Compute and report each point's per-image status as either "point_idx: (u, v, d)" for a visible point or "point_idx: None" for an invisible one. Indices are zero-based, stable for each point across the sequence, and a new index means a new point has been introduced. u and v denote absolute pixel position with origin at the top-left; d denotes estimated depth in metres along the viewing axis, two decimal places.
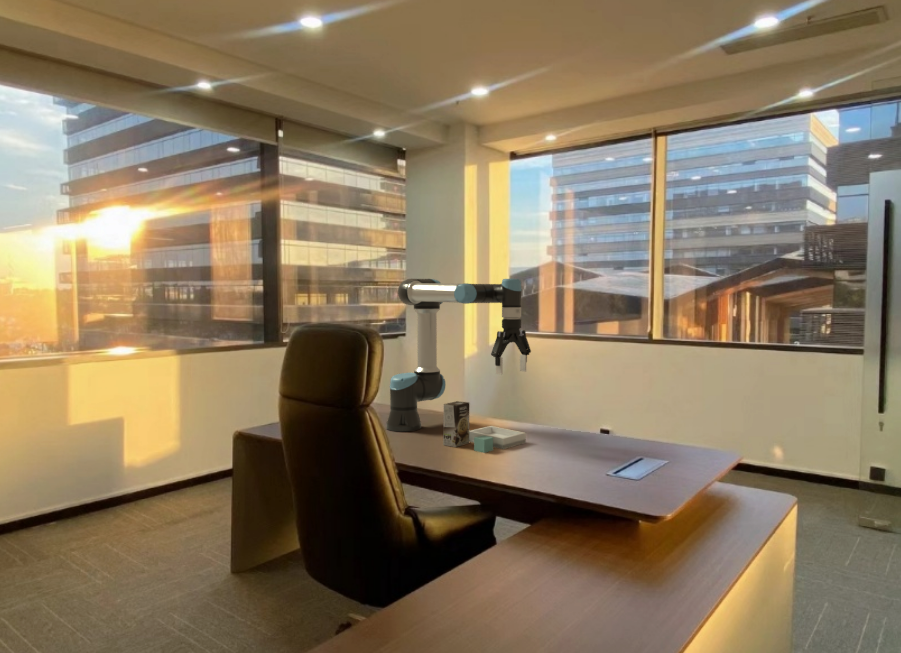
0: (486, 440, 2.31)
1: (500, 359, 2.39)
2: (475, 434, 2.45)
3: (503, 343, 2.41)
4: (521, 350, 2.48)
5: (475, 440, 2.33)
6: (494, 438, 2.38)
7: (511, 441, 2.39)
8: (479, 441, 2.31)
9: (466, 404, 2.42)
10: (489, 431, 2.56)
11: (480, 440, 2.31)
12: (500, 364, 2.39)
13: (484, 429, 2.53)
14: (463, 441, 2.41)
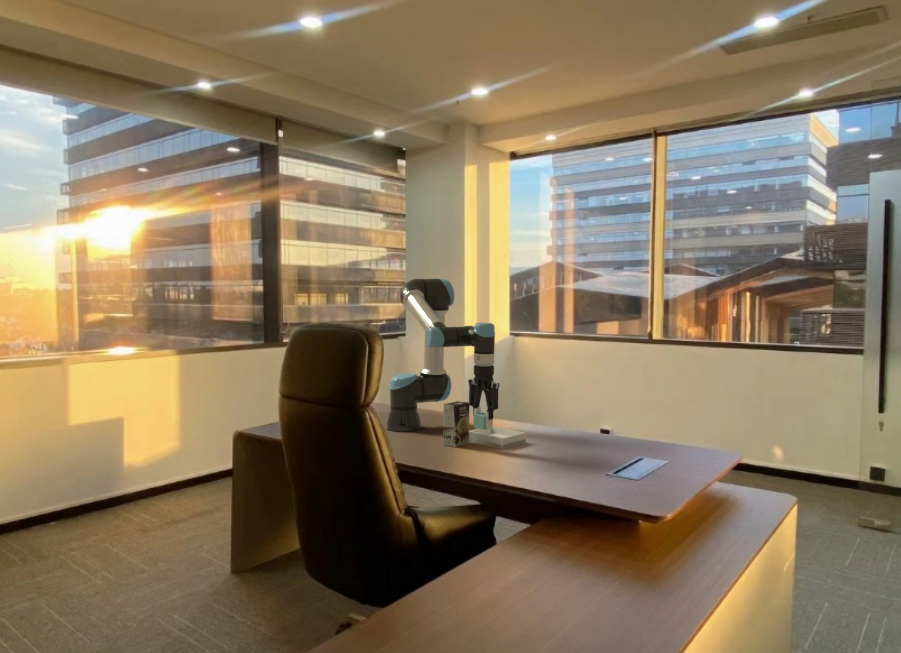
0: None
1: None
2: (475, 434, 2.45)
3: None
4: None
5: (475, 417, 2.33)
6: (494, 438, 2.38)
7: (511, 441, 2.39)
8: (479, 418, 2.31)
9: (466, 404, 2.42)
10: (489, 431, 2.56)
11: (480, 417, 2.31)
12: None
13: None
14: (463, 441, 2.41)
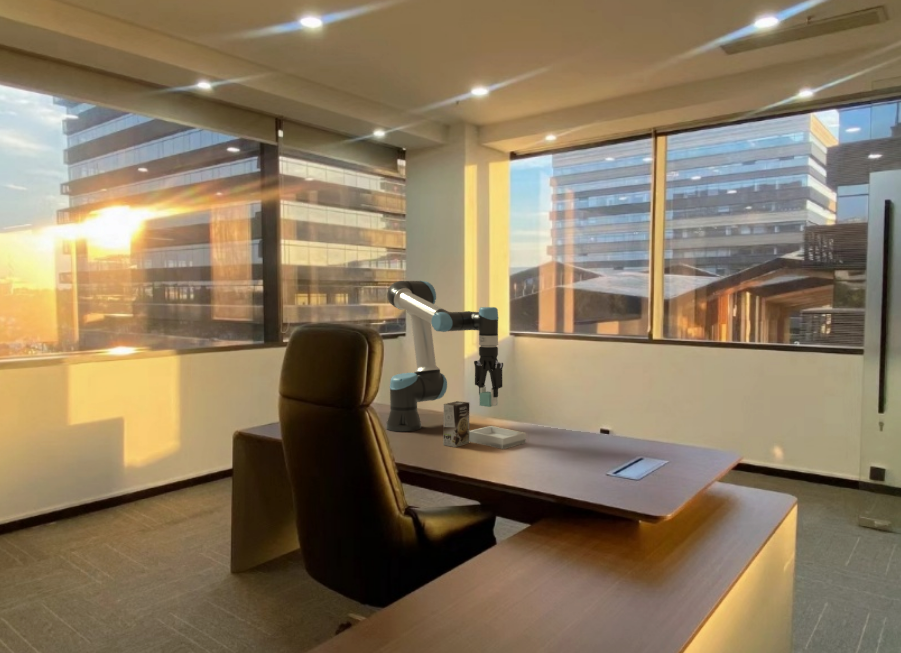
0: None
1: None
2: (475, 434, 2.45)
3: None
4: None
5: (480, 395, 2.48)
6: (494, 438, 2.38)
7: (511, 441, 2.39)
8: (484, 396, 2.47)
9: (466, 404, 2.42)
10: (489, 431, 2.56)
11: (485, 395, 2.46)
12: None
13: (484, 429, 2.53)
14: (463, 441, 2.41)
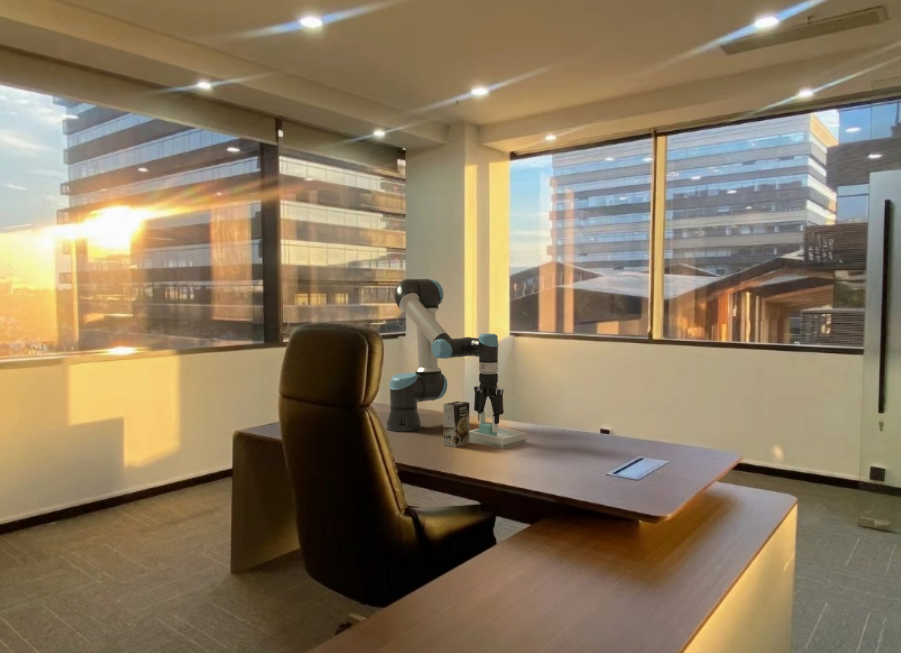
0: (490, 426, 2.47)
1: None
2: (475, 434, 2.45)
3: None
4: None
5: (480, 426, 2.49)
6: (494, 438, 2.38)
7: (511, 441, 2.39)
8: (484, 427, 2.48)
9: (466, 404, 2.42)
10: None
11: (485, 426, 2.47)
12: None
13: None
14: (463, 441, 2.41)
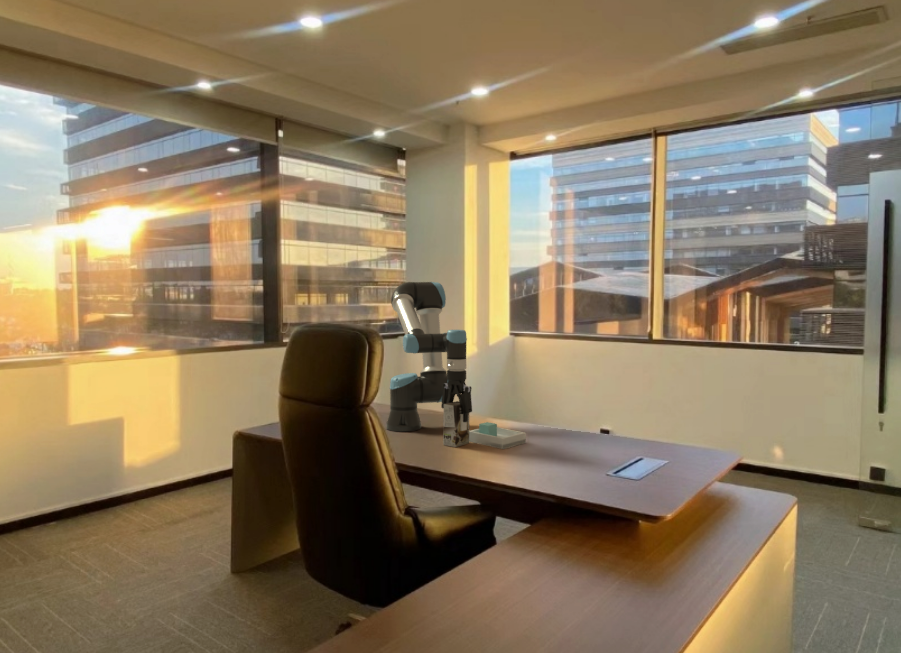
0: (490, 426, 2.47)
1: None
2: (475, 434, 2.45)
3: None
4: None
5: (480, 426, 2.49)
6: (494, 438, 2.38)
7: (511, 441, 2.39)
8: (484, 427, 2.48)
9: None
10: None
11: (485, 426, 2.47)
12: None
13: None
14: (463, 441, 2.41)
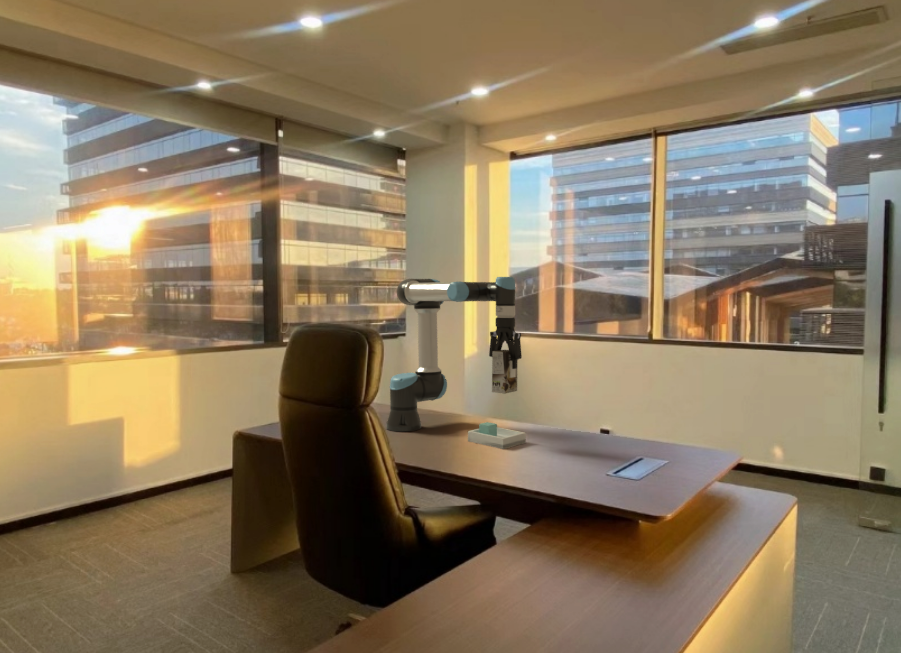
0: (490, 426, 2.47)
1: None
2: (475, 434, 2.45)
3: None
4: None
5: (480, 426, 2.49)
6: (494, 438, 2.38)
7: (511, 441, 2.39)
8: (484, 427, 2.48)
9: None
10: None
11: (485, 426, 2.47)
12: None
13: None
14: (511, 388, 2.41)
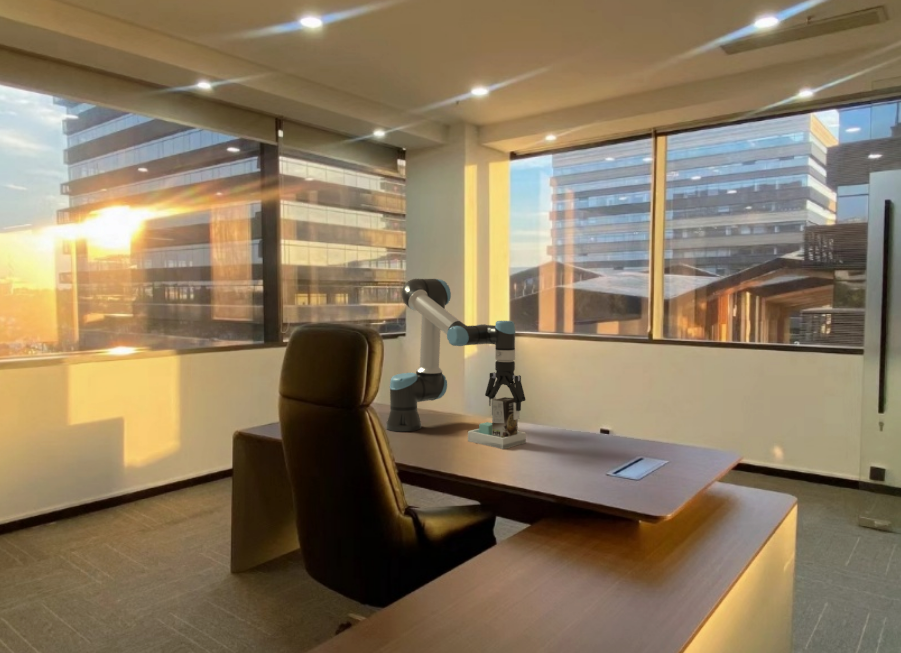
0: (490, 426, 2.47)
1: (491, 400, 2.46)
2: (475, 434, 2.45)
3: None
4: None
5: (480, 426, 2.49)
6: (494, 438, 2.38)
7: (511, 441, 2.39)
8: (484, 427, 2.48)
9: None
10: None
11: (485, 426, 2.47)
12: None
13: None
14: None
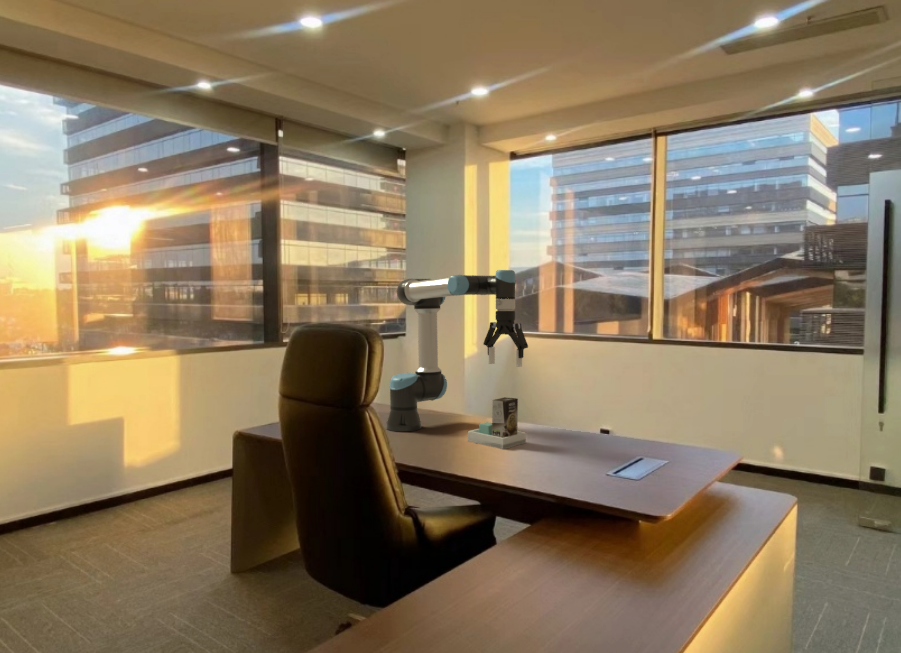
0: (490, 426, 2.47)
1: (489, 349, 2.46)
2: (475, 434, 2.45)
3: None
4: None
5: (480, 426, 2.49)
6: (494, 438, 2.38)
7: (511, 441, 2.39)
8: (484, 427, 2.48)
9: (515, 400, 2.43)
10: None
11: (485, 426, 2.47)
12: (489, 354, 2.46)
13: None
14: None
